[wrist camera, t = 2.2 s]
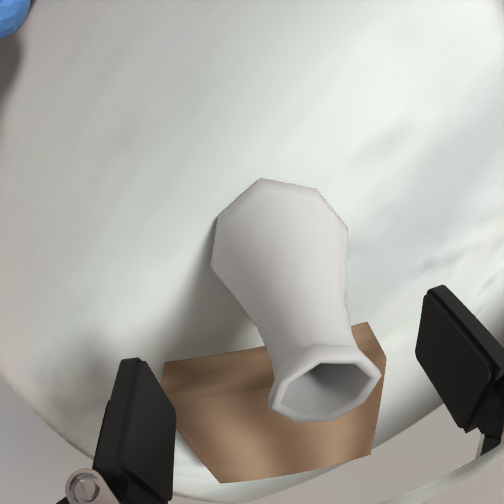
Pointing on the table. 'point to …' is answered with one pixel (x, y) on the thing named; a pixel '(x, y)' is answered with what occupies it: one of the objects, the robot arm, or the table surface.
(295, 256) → the flask
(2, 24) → the grapes
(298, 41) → the table surface
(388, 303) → the table surface
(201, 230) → the table surface
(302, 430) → the flat wooden block
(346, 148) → the table surface
